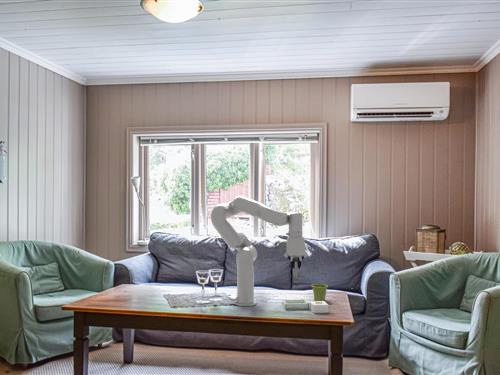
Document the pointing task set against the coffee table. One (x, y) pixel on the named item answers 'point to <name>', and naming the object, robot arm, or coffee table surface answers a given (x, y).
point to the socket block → (318, 306)
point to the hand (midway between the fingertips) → (295, 267)
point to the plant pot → (319, 291)
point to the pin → (296, 267)
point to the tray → (295, 304)
